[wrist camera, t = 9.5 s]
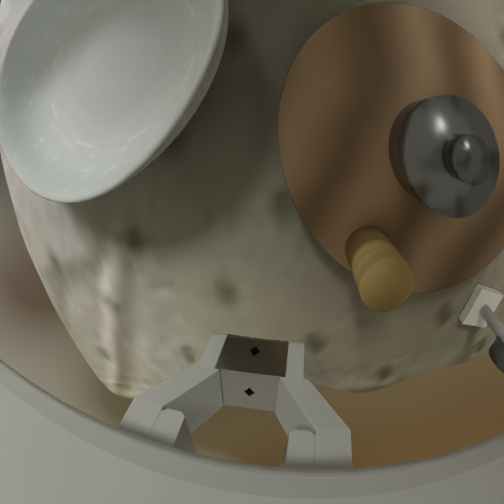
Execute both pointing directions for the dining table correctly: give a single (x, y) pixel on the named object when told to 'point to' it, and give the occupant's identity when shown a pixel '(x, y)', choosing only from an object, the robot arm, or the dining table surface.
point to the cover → (445, 154)
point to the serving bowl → (103, 88)
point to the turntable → (385, 147)
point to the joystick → (486, 319)
